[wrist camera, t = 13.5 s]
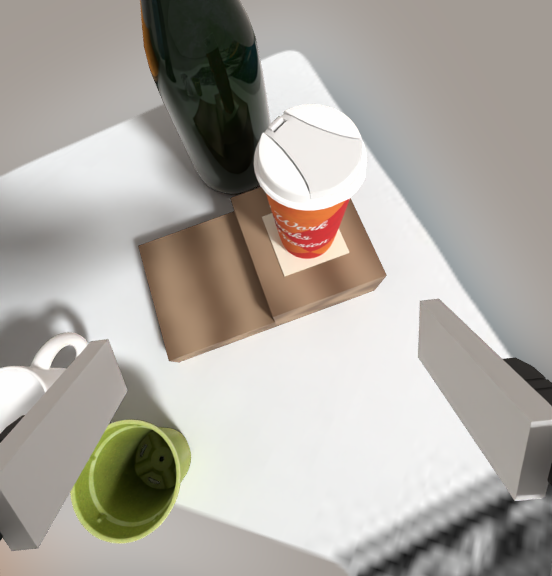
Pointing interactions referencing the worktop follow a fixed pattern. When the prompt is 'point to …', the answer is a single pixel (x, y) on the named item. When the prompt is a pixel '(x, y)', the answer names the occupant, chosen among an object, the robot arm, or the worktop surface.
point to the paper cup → (310, 174)
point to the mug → (32, 378)
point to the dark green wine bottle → (209, 84)
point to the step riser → (249, 276)
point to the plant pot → (130, 481)
